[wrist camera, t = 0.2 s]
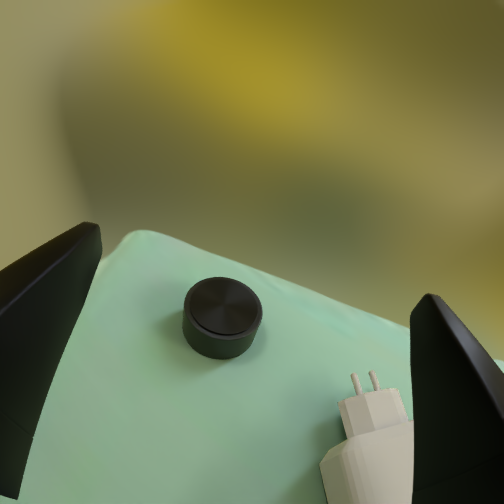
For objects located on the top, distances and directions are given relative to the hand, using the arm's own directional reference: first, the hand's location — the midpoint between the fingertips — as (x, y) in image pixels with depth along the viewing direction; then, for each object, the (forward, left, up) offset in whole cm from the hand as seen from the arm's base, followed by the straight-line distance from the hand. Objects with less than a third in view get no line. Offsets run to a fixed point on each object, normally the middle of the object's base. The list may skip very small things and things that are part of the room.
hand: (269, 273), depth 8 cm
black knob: (+10, 0, -17) cm, 19 cm away
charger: (-1, -13, -17) cm, 21 cm away
